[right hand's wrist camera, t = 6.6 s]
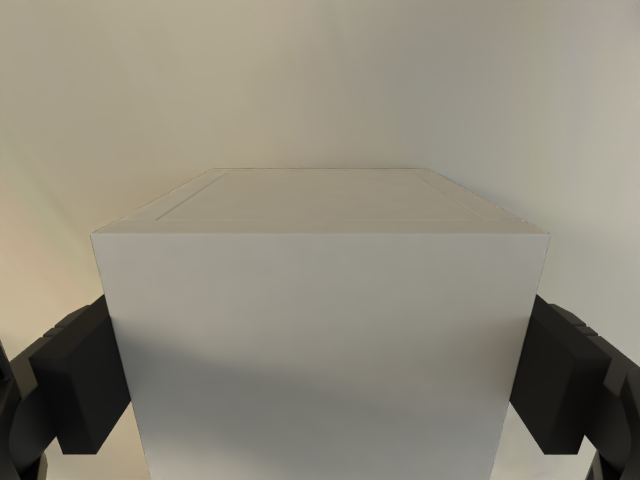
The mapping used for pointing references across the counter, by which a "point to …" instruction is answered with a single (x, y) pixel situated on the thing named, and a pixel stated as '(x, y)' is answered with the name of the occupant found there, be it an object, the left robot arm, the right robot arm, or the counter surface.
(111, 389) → the right robot arm
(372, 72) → the counter surface
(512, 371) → the cabinet
